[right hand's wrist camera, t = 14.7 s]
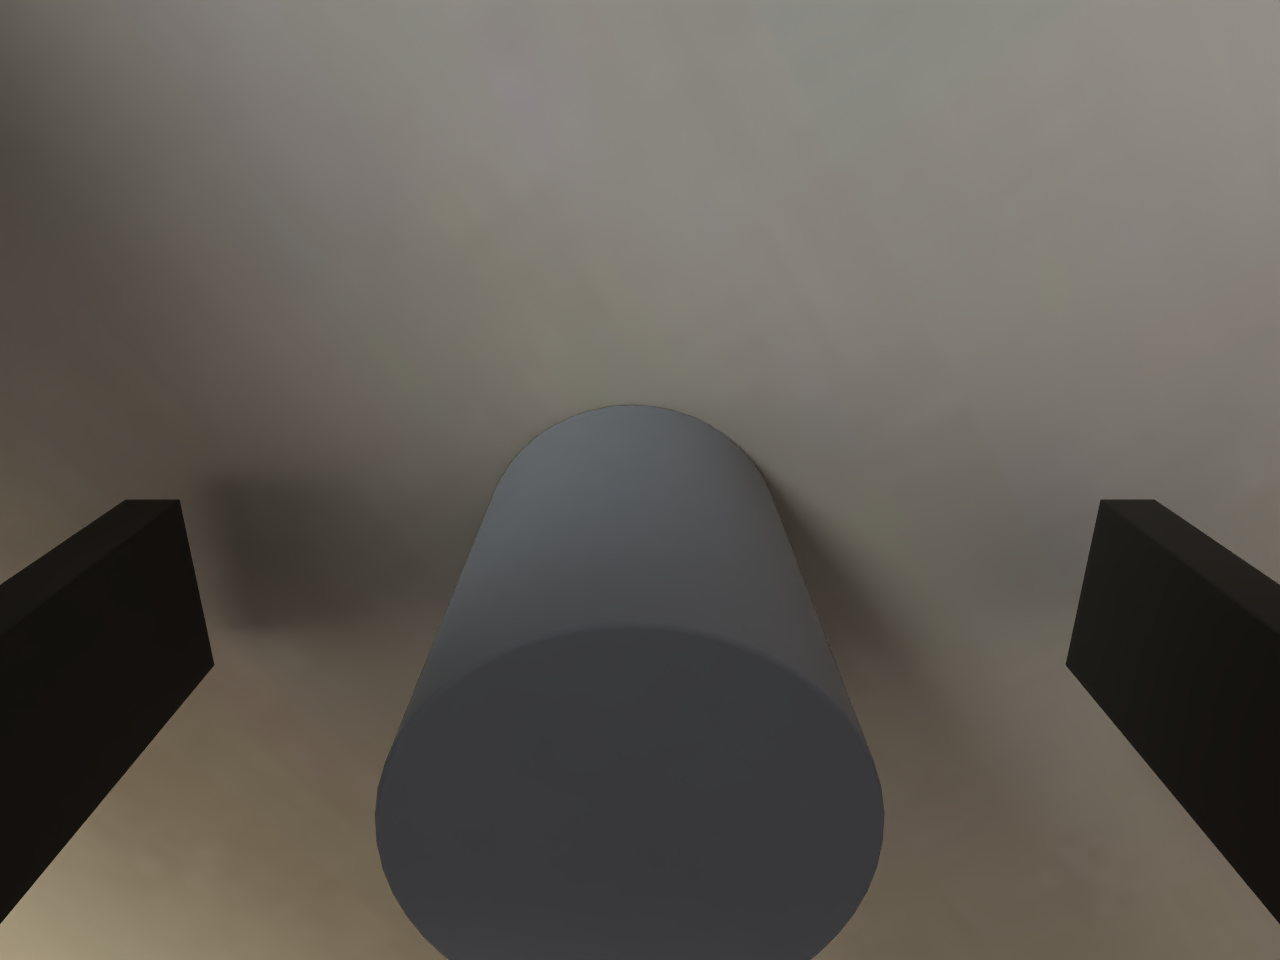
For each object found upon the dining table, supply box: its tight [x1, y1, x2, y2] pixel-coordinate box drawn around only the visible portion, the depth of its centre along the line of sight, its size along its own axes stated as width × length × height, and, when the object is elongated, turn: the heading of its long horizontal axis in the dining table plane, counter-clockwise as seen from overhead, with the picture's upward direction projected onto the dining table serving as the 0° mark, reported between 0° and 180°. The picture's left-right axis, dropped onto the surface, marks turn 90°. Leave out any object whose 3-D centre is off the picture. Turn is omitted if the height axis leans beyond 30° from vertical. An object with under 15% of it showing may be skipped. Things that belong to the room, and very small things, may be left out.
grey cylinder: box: [375, 405, 884, 960], centre depth 10 cm, size 4×4×6 cm
